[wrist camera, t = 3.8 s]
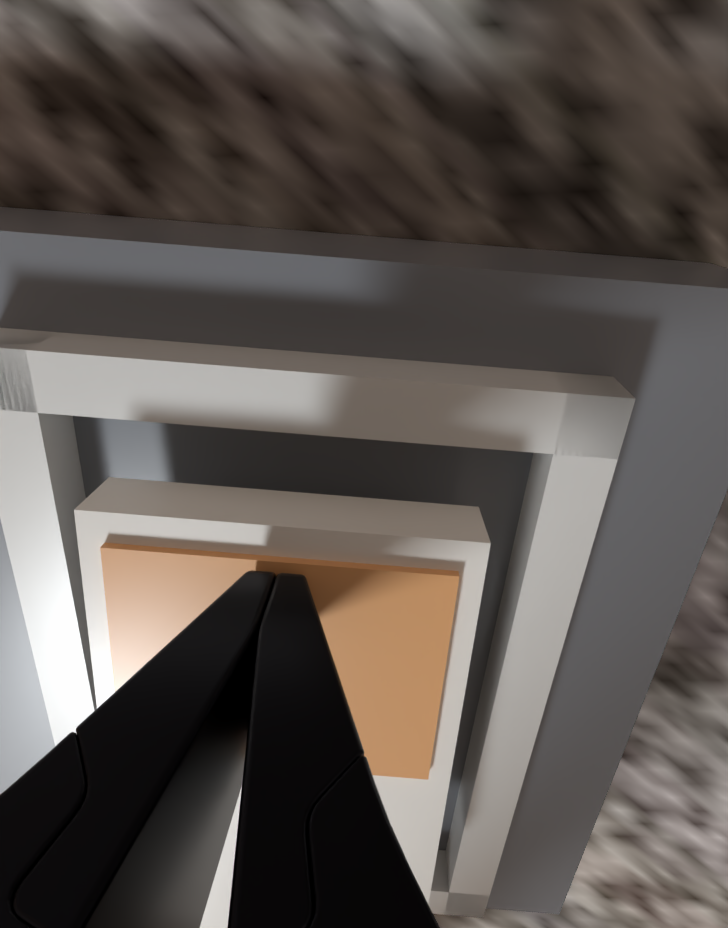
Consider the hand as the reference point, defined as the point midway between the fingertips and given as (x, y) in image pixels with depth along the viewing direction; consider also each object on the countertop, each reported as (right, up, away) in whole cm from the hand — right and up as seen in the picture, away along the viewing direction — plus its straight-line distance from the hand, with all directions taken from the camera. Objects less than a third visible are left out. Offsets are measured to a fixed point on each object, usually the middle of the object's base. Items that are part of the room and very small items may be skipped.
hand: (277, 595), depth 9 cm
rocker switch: (0, -3, +3) cm, 4 cm away
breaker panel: (0, -1, +7) cm, 7 cm away
